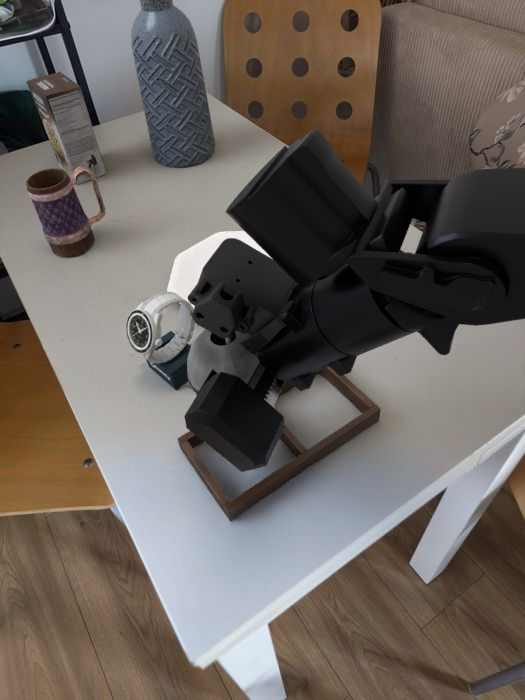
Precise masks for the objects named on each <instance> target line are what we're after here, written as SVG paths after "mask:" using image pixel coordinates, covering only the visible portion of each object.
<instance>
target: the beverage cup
mask: <svg viewBox="0 0 525 700" xmlns="http://www.w3.org/2000/svg"><path fill="white" fill-rule="evenodd" d="M244 334H246V333H241V332H239V331H234V332H233V334H232V335H231V337H230V338H220V337H219V336H217V335H215V334H213V333H212V332H210V331H208V330H207V329H205V328H204V330H203V331H201V332H200V333H199V334H198V335H197V336H196V337H195V339H194V341H193V342H192V344H191V345H190V346H191V348H190V352H189V355H188V358H187V377H188V382H187V383H188V384H189V386H190V388H191V389H192V391H193V392H194V393H195V395H197V393H198V392H199V390H200V388H201V387H202V385H203V384H204V382H205V380H206V379H207V377H208V376H209V374H210V372H211V371H212V369H213V370H214V371H215V372H217V373H220V372H224V373H227V374H231V375H235V376H238V377H239V378H241V379H242V380H243V381H244V382H245V383H246V384H247V383H248V382H249V380H250V378H251V376H252V374H253V373H254V371H255V369H256V367H257V365H258V363H259V362H260V361H259V360H258V358H257V356H256V355H254V354H251V353H250V352H249V351H248V350H247V349H245V348H244V347H243V346H242V345H241V344H240V341H241V339H242V338H243V336H244Z"/></svg>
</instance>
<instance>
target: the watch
mask: <svg viewBox="0 0 525 700" xmlns="http://www.w3.org/2000/svg"><path fill="white" fill-rule="evenodd" d="M179 303H181V304H179ZM175 304H179V305H180V308H179V309H178V318H177V321H176V326H175V329H174V331H172V330H170V331H168V332H167V333H165V334H164V335H163V334H162V325H161V323H162V320H163V319H162V318H163V313H162V311H163V310H164V309H166V308H168V307H170V306H171V305H175ZM193 310H194V309H193V306H192V305H191V304H190V303H189V302H187V301H186V300H185V299H183V298H182V297H180V296H179V295H177V294H176V293H173V292H167V291H161V292H158V293H156V294H153V295H152V296H151V297H149V298H147V299H146V300H143V301H142V302H141V303H140V304H139V305H137V307H136V308H135V309H133V310H131V311H130V313H129V314H128V316H127V318H126V322H125V323H126V324H125V332H126V337H127V340H128V343H129V345H130V346H131V347H132V349H133V350H134V352H136V353H138V354H140V355H141V356H142V357H143V358H144V359H145V361H146V363H147V365H148V367H149V369H150V370H151V371H152V372H154V373H155V374H156V375H158V376H159V377H160V378H161V379H162V380H163V381H164V382H166V384H168V385H169V386H170V387H171V388H172V389H174V390H175V391H177V390H179V389H180V388H181V387H183V386H184V385H186V383H189V382H188V377H187V358H188V355H189V352H190V348H191V345H190V344H189V343H188V342H191V339H192V336H193V334H194V330H195V325H196V323H195V321H194V320H193V318H192V313H193Z"/></svg>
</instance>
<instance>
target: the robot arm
mask: <svg viewBox="0 0 525 700" xmlns="http://www.w3.org/2000/svg"><path fill="white" fill-rule="evenodd" d="M225 213H226V215H228V216H229V217H230V219H232V220H233V222H234V223H236V224H237V225H238V226H239V228H241V229H242V231H245V232H246V233H247V234H248V235H249V236H250V237H251V238H252V239H253V240H254V241H255V242H256V243H257V244H258V245H259V246H260V247H261V248H262V249H263V250H264V251H265V252H266V253H267V254H268V255H269V256H270V257H271V258H272V259H271V258H270V257H268V256H266V255H265V254H263V253H261V252H260V251H258V250H256V249H254V248H253V247H251V246H249V245H248V244H246V243H244V242H242V241H241V240H238V239H235V238H228V239H225V240H224V241H223V242H222V243H221V244H220V246H219V247H218V248H217V250H216V251H215V252H214V254H213V255H212V256H211V258H210V259H209V260H208V262H207V263H206V264H205V266H204V267H203V269H202V272H201V275H200V278H199V280H198V283H197V285H196V286H195V287H194V289H193V290H192V291H191V293H190V294H189V295H188V300H189V302H190V303H191V304H193V305H194V306H195V307H194V310H193V313H192V318H193V320H194V321H195V325H198V326H200V327H201V328H203V329H204V330H205V329H207V330H208V331H210V332H212V333H213V334H215V335H217V336H219V337H220V338H230V337H231V335H232V334H233V332H234V331H239V332H241V333H246V334H244V336H243V338H242V339H241V341H240V344H241V345H242V346H243V347H244V348H245V349H247V350H248V351H249V352H250V353H251V354H254V355H256V356H257V358H258V360H259V361H260V362H259V363H258V365H257V367H256V369H255V371H254V373H253V374H252V376H251V378H250V380H249V382H248V383H247V384H246V383H245V382H244V381H243V380H242V379H241V378H239V377H238V376H235V375H231V374H227V373H224V372H220V373H217V372H215V371H214V370H213V369H212V371H211V372H210V374H209V376H208V377H207V379H206V380H205V382H204V384H203V385H202V387H201V388H200V390H199V392H198V393H197V394H196V396H195V397H194V399H193V401H192V403H191V404H190V405H189V407H188V409H187V411H186V413H184V422H185V427H186V429H187V430H188V431H191V432H192V433H194V434H195V435H196V436H197V437H199V438H200V439H201V440H202V441H204V443H205V444H206V445H207V446H208V447H210V448H211V449H212V450H214V451H215V452H216V453H217V454H218V455H219V456H221V457H222V458H223V459H224V460H226V461H227V462H228V463H230V464H231V465H232V466H233V467H234V468H236V469H237V471H240V472H241V473H244V472H249V471H254V470H258V469H261V468H266V467H268V464H269V462H270V460H271V458H272V456H273V453H274V451H275V449H276V448H277V445H278V443H279V441H280V436H281V434H282V432H283V430H284V428H285V425H286V424H285V423H286V422H285V416H284V415H283V414H282V413H281V412H280V411H279V410H277V408H276V407H275V405H276V402H277V401H278V398H279V397H278V396H279V394H280V392H281V390H282V388H283V386H284V384H285V382H286V381H287V380H289V381H290V382H291V383H292V384H293V385H294V386H295V388H296V389H297V390H298V391H300V392H303V391H306V390H309V389H310V388H311V386H312V384H313V381H314V380H315V378H316V375H317V374H316V373H317V372H319V371H321V370H324V369H326V368H329V367H330V368H332V369H333V370H334V371H335V372H336V373H337V374H338V375H339V376H343V375H345V376H346V375H348V374H350V373H352V370H353V368H354V365H355V363H356V361H357V358H358V356H360V355H363V354H366V353H368V352H370V351H373V350H376V349H377V348H380V347H383V346H385V345H388V344H390V343H392V342H395V341H398V340H400V339H402V338H405V337H407V336H409V335H412V334H414V333H418V334H419V335H421V336H422V338H423V339H424V340H425V341H426V342H427V343H428V344H429V345H430V346H431V347H432V348H433V349H434V350H435V351H436V353H438V354H439V355H440V356H447V355H449V354H450V353H451V350H452V346H453V342H454V338H455V333H456V330H457V329H458V327H459V326H460V325H464V326H474V327H475V326H476V327H477V326H488V325H495V324H501V323H508V322H514V321H521V320H525V167H505V168H504V167H502V168H500V167H499V168H483V169H482V168H481V169H475V170H472V171H469V172H466V173H463V174H460V175H457V176H456V177H454V178H453V179H429V178H428V179H427V178H426V179H417V178H416V179H415V178H414V179H411V178H409V179H406V178H405V179H404V178H403V179H401V178H400V179H399V178H395V179H394V178H390V179H386V181H385V182H384V183H383V186H382V188H381V190H380V192H379V194H378V195H377V196H375V197H373V196H372V195H371V194H370V192H369V191H368V190H367V189H366V188H365V187H364V186H363V184H362V183H361V182H360V180H358V179H357V178H356V177H355V175H354V174H353V173H352V171H350V170H349V169H348V167H347V166H346V165H345V164H344V163H343V162H342V160H341V159H340V157H339V155H338V153H337V152H336V150H335V148H334V147H333V145H332V143H331V142H330V141H329V140H328V139H327V138H326V137H325V136H324V134H323V133H322V132H321V131H320V130H319V129H317V128H312V129H311V130H310V131H309V132H308V133H306V135H304V136H303V137H302V138H298V139H297V140H296V141H293V143H291V144H290V145H289V146H287V145H284V146H283V147H282V148H281V149H280V150H279V151H278V152H277V153H276V154H275V155H274V156H273V157H272V158H271V159H269V161H268V162H267V163H266V164H265V165H264V166H262V168H261V169H260V170H259V171H258V172H257V173H256V174H255V175H254V176H253V177H252V179H251V180H250V181H249V182H248V183H247V184H246V185H245V186H244V187H243V189H241V190H240V192H239V193H238V194H237V195H236V197H235V198H234V199H233V200H232V201H231V202H230V204H229V206H228V207H227V208H226V210H225ZM413 220H416V221H419V222H422V223H425V224H424V227H423V230H422V232H421V236H420V239H419V241H418V244H417V247H416V249H415V252H414V253H413V252H410V251H409V252H408V251H406V252H405V251H403V250H402V249H401V248H402V247H403V244H404V242H405V238H406V236H407V234H408V232H409V228H410V227H411V223H412V221H413ZM319 373H320V372H319Z"/></svg>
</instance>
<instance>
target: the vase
mask: <svg viewBox="0 0 525 700" xmlns="http://www.w3.org/2000/svg"><path fill="white" fill-rule="evenodd" d="M139 4H140V8H141V9H140V11H139V12H138V14H137V15H136V16H135V18H134V20H133V23H132V26H131V34H130V38H131V40H130V41H131V50H132V51H131V52H132V57H133V61H134V66H135V69H136V70H135V71H136V77H137V82H138V87H139V90H140V91H139V92H140V96H141V101H142V107H143V112H144V116H145V122H146V127H147V132H148V137H149V141H150V148H151V150H152V154H153V157H154V158H155V160H156V161H157V162H158V163H159V164H161V165H164V166H167V167H173V168H182V167H183V168H184V167H191V166H193V165H198V164H200V163H203V162H204V161H207V160H208V159H209V158H211V156H212V155H214V152H215V149H216V142H215V135H214V130H213V129H214V128H213V124H212V118H211V117H212V116H211V112H210V106H209V101H208V96H207V90H206V85H205V84H206V83H205V77H204V73H203V66H202V62H201V56H200V51H199V50H200V49H199V44H198V40H197V36H196V33H195V29H194V27H193V24H192V23H191V20H190V18H189V17H188V16H187V15H186V14H185V13H184V12H183V11H182V10H181V9H179V8H178V7H177V6H175V5H174V0H139Z"/></svg>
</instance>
